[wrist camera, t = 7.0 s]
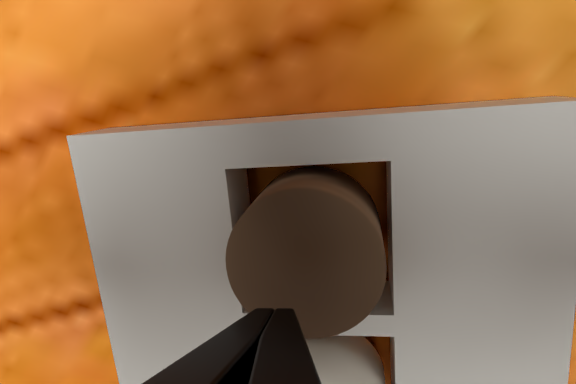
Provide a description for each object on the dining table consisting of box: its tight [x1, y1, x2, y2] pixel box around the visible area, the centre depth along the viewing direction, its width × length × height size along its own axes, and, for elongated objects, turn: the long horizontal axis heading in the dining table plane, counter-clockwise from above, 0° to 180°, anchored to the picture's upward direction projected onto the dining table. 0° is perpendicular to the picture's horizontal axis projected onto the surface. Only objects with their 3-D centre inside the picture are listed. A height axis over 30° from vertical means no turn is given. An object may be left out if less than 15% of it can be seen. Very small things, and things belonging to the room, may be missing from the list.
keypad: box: [67, 96, 576, 384], centre depth 16 cm, size 16×20×2 cm
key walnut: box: [225, 166, 387, 339], centre depth 13 cm, size 5×5×3 cm
